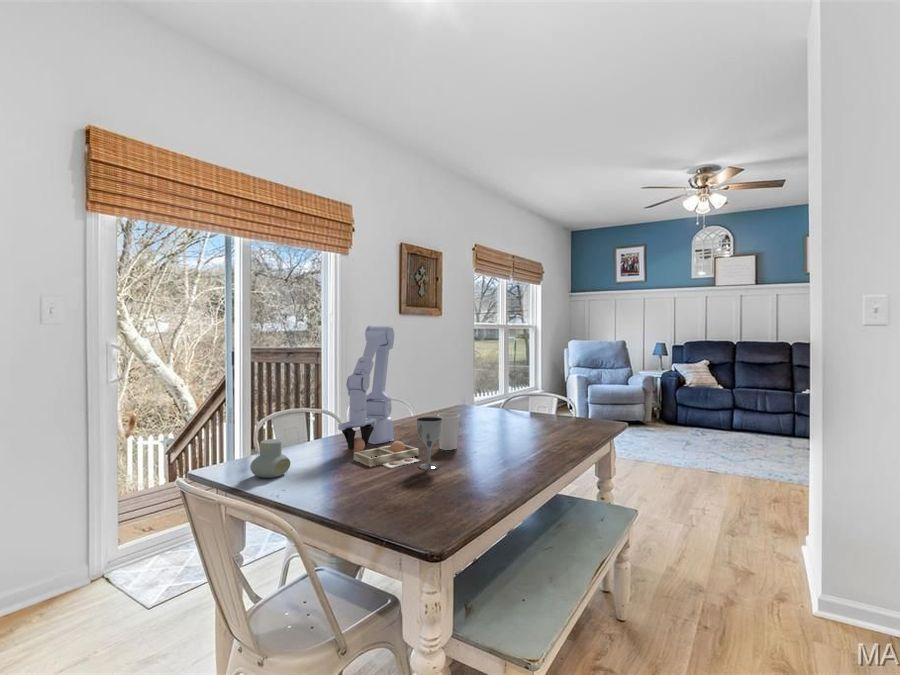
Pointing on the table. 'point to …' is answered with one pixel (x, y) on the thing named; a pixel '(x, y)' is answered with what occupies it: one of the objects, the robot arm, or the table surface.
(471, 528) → the table surface
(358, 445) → the loose ball
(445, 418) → the cup
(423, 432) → the wine glass
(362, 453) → the rack
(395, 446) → the ball
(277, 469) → the air freshener
